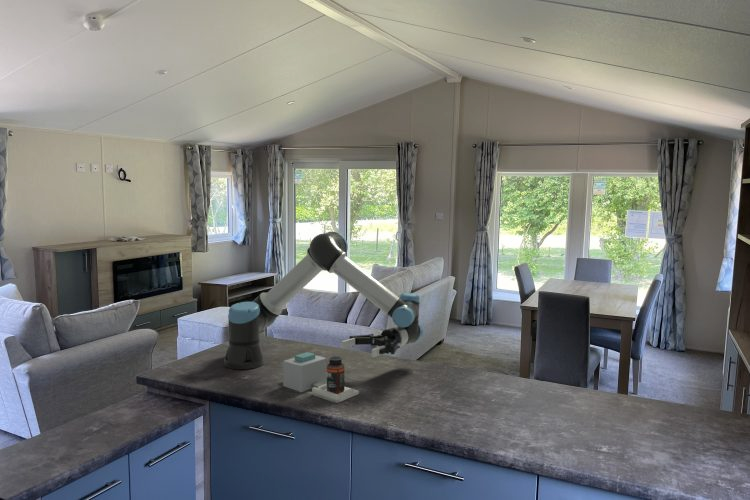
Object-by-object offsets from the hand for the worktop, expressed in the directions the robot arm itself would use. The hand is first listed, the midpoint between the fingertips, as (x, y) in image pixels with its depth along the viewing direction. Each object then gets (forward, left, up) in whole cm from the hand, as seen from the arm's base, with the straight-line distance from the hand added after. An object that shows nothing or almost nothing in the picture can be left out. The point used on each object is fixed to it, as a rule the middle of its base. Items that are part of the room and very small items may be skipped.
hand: (356, 349), depth 185 cm
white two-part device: (-12, -7, -13) cm, 19 cm away
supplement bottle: (-4, -10, -12) cm, 16 cm away
